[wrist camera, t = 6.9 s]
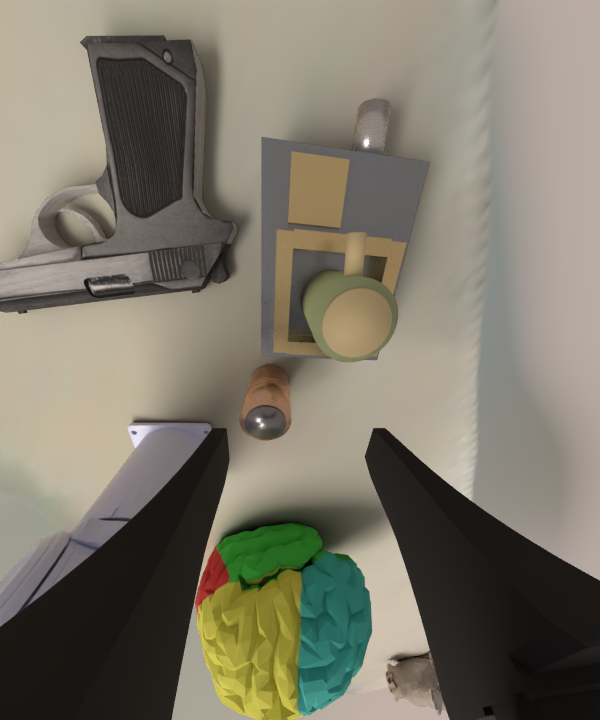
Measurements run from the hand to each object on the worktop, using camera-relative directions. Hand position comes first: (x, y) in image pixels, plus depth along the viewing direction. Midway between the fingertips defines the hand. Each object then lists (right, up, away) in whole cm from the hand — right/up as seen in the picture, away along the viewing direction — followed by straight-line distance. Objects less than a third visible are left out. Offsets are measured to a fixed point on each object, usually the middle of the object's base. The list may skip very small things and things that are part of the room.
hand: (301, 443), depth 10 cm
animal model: (+42, -105, +67) cm, 132 cm away
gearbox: (+2, +12, +6) cm, 14 cm away
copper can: (-3, +2, +10) cm, 11 cm away
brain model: (-3, -26, +24) cm, 36 cm away
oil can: (+2, +8, +4) cm, 9 cm away
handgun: (-13, +15, +4) cm, 20 cm away
